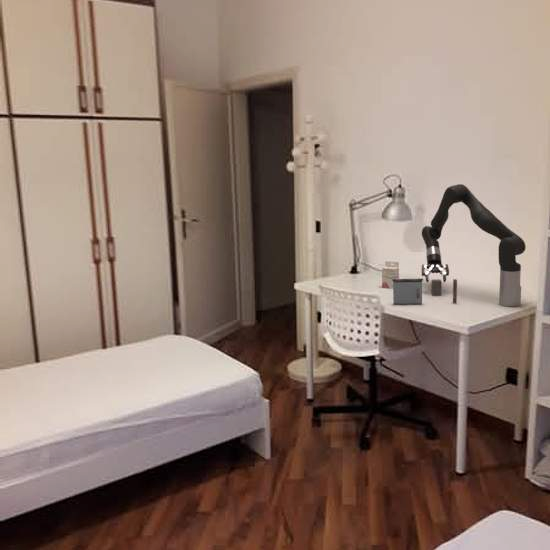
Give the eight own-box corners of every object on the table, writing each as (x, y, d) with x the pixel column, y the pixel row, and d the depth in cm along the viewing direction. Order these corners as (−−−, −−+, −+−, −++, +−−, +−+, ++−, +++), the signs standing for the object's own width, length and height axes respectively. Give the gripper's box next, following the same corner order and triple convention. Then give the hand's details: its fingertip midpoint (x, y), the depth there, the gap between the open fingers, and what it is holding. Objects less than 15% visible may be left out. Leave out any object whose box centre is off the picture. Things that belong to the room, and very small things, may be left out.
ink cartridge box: (381, 287, 329) (381, 262, 326) (385, 286, 333) (385, 261, 330) (395, 289, 325) (395, 263, 322) (399, 287, 329) (399, 261, 326)
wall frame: (455, 302, 290) (456, 277, 287) (457, 304, 287) (457, 278, 284) (392, 302, 295) (392, 278, 292) (392, 304, 291) (392, 279, 289)
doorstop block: (440, 293, 309) (440, 279, 307) (441, 296, 305) (441, 281, 303) (431, 294, 310) (431, 279, 308) (432, 296, 305) (432, 281, 304)
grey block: (421, 302, 290) (422, 281, 288) (422, 304, 288) (422, 282, 286) (393, 303, 292) (393, 281, 290) (393, 304, 290) (393, 282, 288)
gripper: (420, 253, 314) (423, 277, 305) (447, 252, 312) (450, 277, 303) (419, 260, 320) (421, 285, 311) (446, 260, 318) (449, 285, 309)
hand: (436, 281), depth 307 cm, fingers open, 8 cm apart
